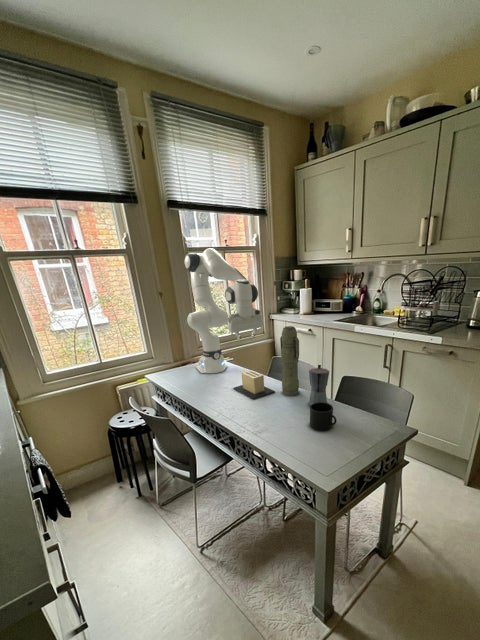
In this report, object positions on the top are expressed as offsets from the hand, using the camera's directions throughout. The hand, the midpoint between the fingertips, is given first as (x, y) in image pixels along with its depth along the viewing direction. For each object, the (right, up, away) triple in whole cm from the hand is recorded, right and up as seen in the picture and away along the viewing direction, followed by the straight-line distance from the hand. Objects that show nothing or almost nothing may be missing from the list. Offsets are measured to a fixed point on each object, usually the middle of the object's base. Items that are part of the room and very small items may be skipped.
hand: (246, 337), depth 174 cm
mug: (+35, -46, -40) cm, 70 cm away
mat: (+4, -29, +1) cm, 29 cm away
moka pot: (+36, -37, -20) cm, 56 cm away
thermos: (+24, -31, -4) cm, 39 cm away
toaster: (+4, -28, 0) cm, 29 cm away
